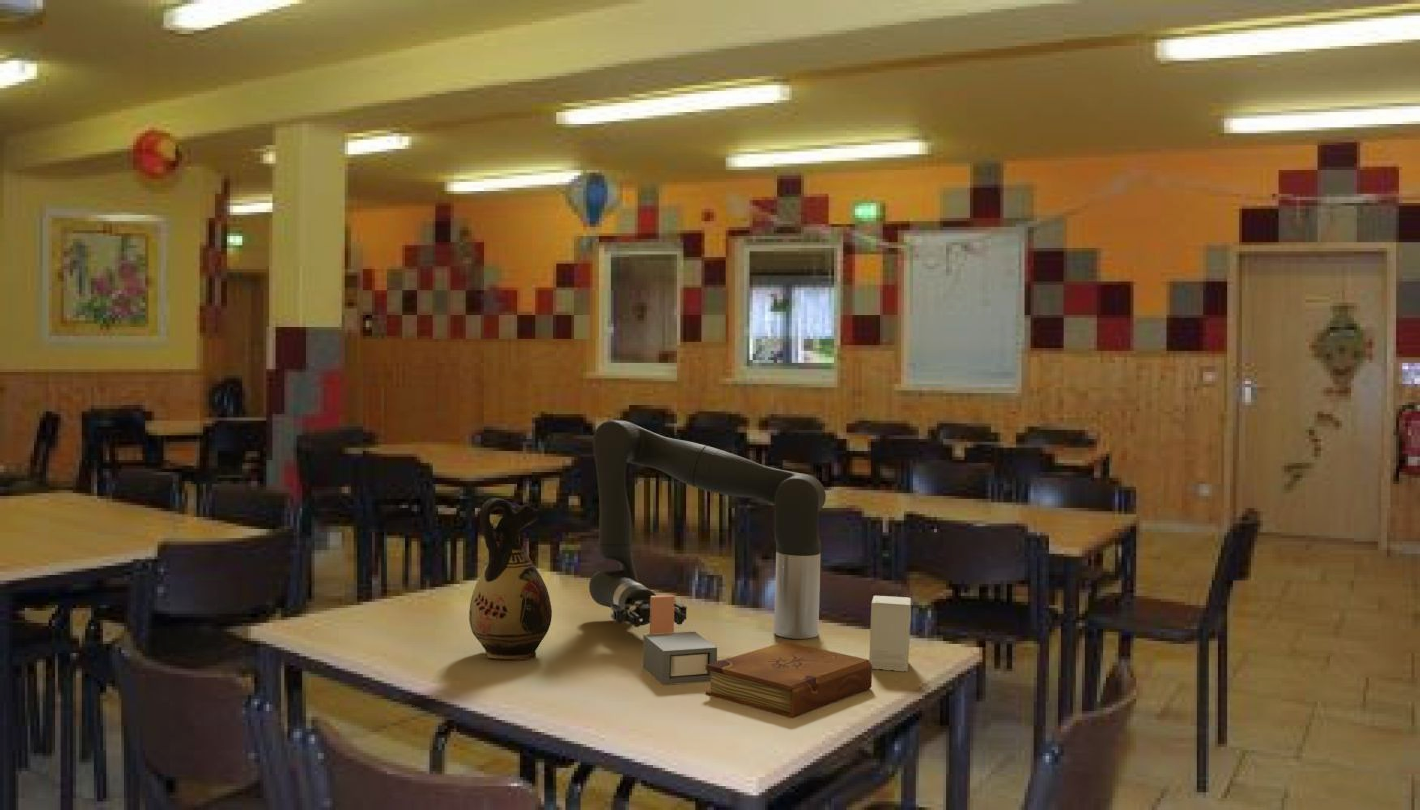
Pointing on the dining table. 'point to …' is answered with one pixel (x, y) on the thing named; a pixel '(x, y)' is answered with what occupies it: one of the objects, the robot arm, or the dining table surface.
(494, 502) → the ceramic jug
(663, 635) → the sleeve
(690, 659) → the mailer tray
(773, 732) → the dining table surface
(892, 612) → the supplement box
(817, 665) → the diary
